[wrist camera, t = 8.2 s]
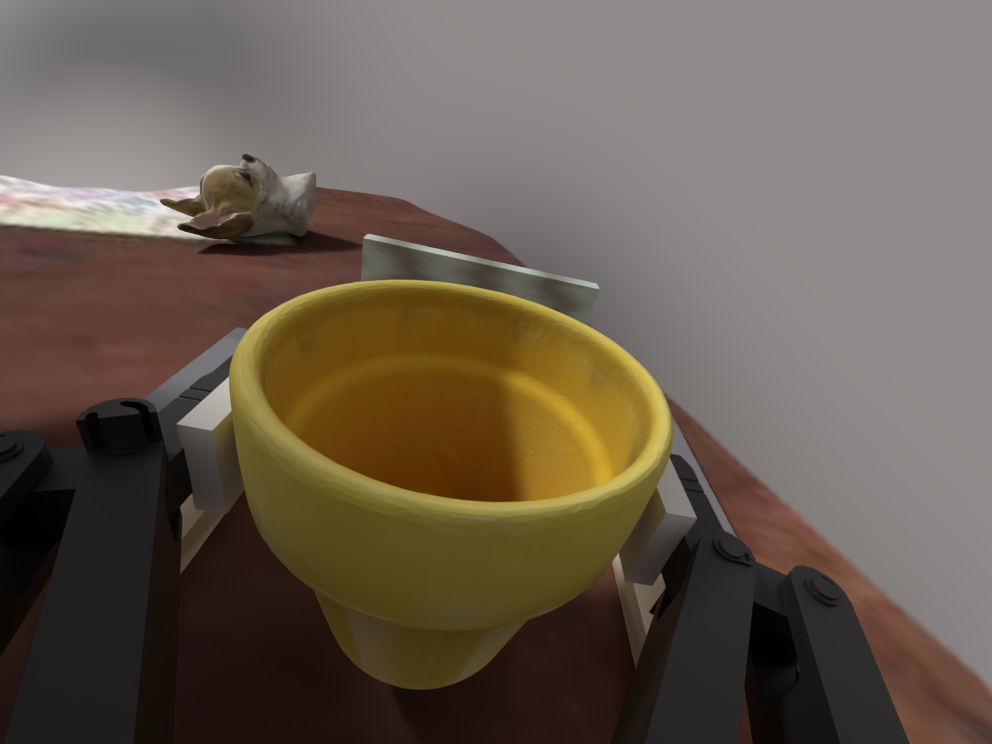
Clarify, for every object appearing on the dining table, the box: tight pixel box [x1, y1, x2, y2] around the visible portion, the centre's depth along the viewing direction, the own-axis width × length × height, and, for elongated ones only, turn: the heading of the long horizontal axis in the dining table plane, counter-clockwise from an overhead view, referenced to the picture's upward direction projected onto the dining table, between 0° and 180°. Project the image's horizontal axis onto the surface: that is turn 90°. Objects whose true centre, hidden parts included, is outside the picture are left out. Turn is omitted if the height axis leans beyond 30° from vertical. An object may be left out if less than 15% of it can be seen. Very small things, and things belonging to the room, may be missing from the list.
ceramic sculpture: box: [160, 154, 316, 239], centre depth 47 cm, size 11×9×15 cm
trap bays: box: [143, 327, 737, 538], centre depth 26 cm, size 31×12×2 cm, turn 88°
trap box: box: [180, 234, 666, 669], centre depth 26 cm, size 21×32×6 cm, turn 178°
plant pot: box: [229, 280, 673, 690], centre depth 13 cm, size 10×10×10 cm
